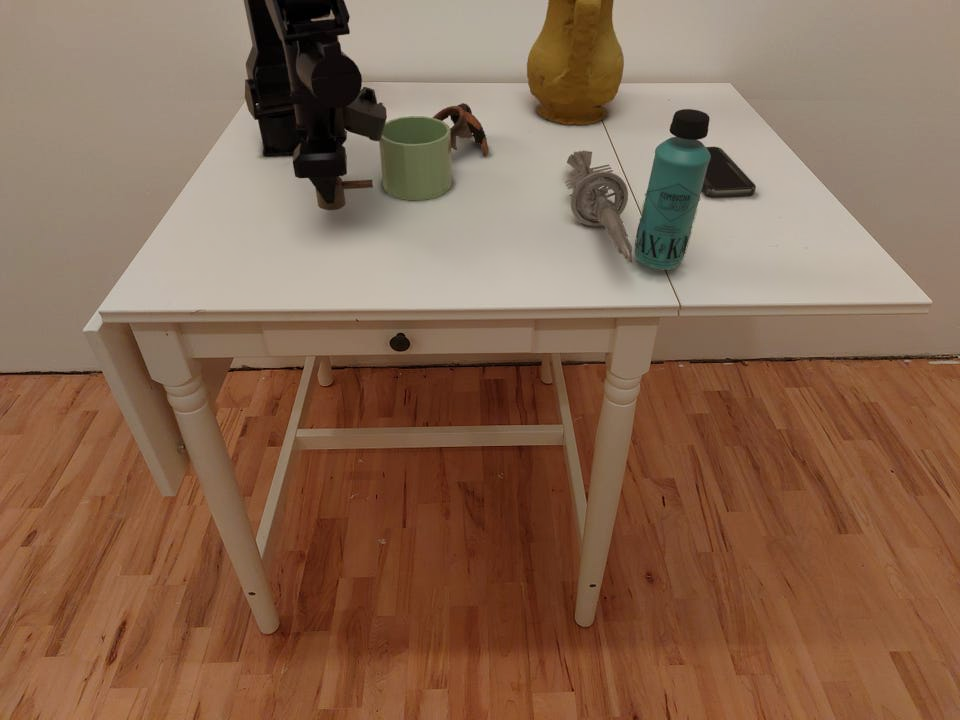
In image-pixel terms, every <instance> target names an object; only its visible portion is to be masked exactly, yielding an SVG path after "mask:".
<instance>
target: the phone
mask: <svg viewBox="0 0 960 720" xmlns="http://www.w3.org/2000/svg"><path fill="white" fill-rule="evenodd" d="M705 147H706V148H707V149H708V151H709V153H710V155H711V159H710V162H709V164H708V167H707V171H706V175H705V179H704V183H703V186H702V190H701V192H702V193H703V194H704V195H705V196H707V197H709V198H729V197H750V196H753V195H754V194H755V191H756V189H757V185H756V184H755V183H754V181H752V179H751V178H749V176H748V175H746V173H745V172H744V171H743V170H742V169H741V168H740V167H739V166H738V165H737V164H736V163H735V162H734V160H733V159H732V158H731V157H730V156H729V155H728V154H727V153H726V152H725V150H723V149H722V148H721V147H719V146H705Z"/></svg>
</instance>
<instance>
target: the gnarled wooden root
mask: <svg viewBox="0 0 960 720" xmlns="http://www.w3.org/2000/svg"><path fill="white" fill-rule="evenodd" d="M449 117H450V121H451V122H452V123H453V125H452V126H451V127H450V131H451V149H453V150H458V148H457V137H458V138H460V139H472V138H473V140H474V144H475V145H480V147H481V150H482V154H483V156H484V157H487V156H488V154H489V145H488V139H487V135H486V134H485V133H486V132H485V130H484V127H483V126H482V124H481V122H480V120H479V119H478V118H477V117H476V116H475V115H474V114H473V112H472V108H471V107H470V106H469V104H467V103H464V102H462V103H460V104H458V105H451V106H448V107H447V106H446V107H445V108H443V109H441V110H440V111H438V112H437V113H436V114H434V115H433V117H432V118H435V119H438V120H441V121H443V122H444V120H446V119H448V118H449Z"/></svg>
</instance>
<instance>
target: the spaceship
mask: <svg viewBox="0 0 960 720" xmlns="http://www.w3.org/2000/svg"><path fill="white" fill-rule="evenodd" d="M592 157H593V152H592V151H590V150H578V151H574V152H573V154H572V153H571V154H570V155H569V156H568V158H567V161H566V163H567V164H568V165H569V166H570V167H572V168H573V177H570V178H569V179H567V180H566V181H564V184H566V185H565V186H566V187H567V190H570V189H572V188H573V191H572V193H571V194H569V195H568V196H569V197H570V209H571V211H572V214H573V216H574V217H575V218H576V220H578V221H579V222H580V223H582V224H583V225H586V226H589V227H602V226H604V228H605V230H606V233H607V235H608V238H609V239H610V240H611V242H612V244H613V245H614V247H615V248H616V249H617V251H618V253H619V254H620V255H622V256H623V258H624V259H625V260H626V261H627V263H628V264H631V263H633V254H632V252H633V247H632V244H631V242H630V240H629V236H628V233H627V230H626V228H625V227H626V226H625V225H624V221H623V219H622V218H621V215H622V214H623V213H624V210H625V209H626V207H627V204H628V200H629V190H628V187H627V185H626V183H625V181H624V180H623V178H621V176H619V175H618V174H616V173H614V170H613V169H612V167H611V165H610V164H604V165H599V166H595V167H591V164H592ZM610 190H612V193H609V191H610ZM611 197H614V202H613V200H612V199H609V198H611ZM585 201H586V202H585ZM591 205H593V208H592V210H591V211H590V212H589V211H588V209H586V207H588V206H591Z"/></svg>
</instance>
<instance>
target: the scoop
mask: <svg viewBox="0 0 960 720" xmlns="http://www.w3.org/2000/svg"><path fill="white" fill-rule="evenodd" d="M373 188H374V182H373V179H357V180H356V179H355V180H354V179H353V180H343V178H342V176H337V177H336V187H335V202H334V203H330V204H327V203H326V202H325V201H324V199H323V198H322V196H321V195H320V194H319V192H318V191H317V189H316V188H315V187H314V189H315V195H316V200H317V206H318V207H319V209H321V210H324V211H337V210H340V209H342V208H343V207H345V206H346V203H347V201H346V195H345V190H357V189H359V190H360V189H373Z"/></svg>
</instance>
